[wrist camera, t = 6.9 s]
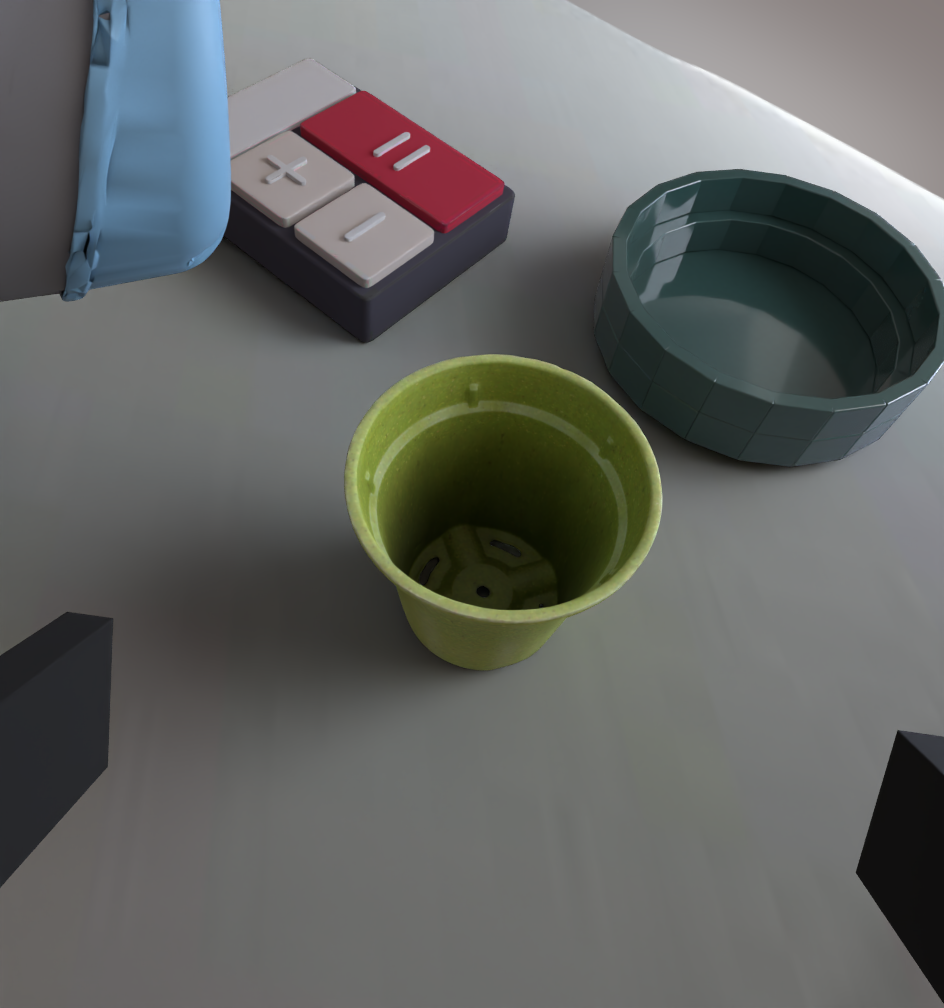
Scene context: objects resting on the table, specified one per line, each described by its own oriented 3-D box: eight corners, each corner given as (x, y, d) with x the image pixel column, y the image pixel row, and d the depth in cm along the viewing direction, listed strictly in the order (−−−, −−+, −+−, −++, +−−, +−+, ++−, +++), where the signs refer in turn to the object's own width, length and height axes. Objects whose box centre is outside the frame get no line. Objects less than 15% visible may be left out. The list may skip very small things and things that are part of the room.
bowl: (528, 342, 37) (543, 270, 33) (696, 205, 44) (725, 131, 40) (805, 535, 32) (859, 476, 28) (945, 348, 39) (1004, 281, 35)
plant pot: (313, 653, 28) (281, 539, 20) (420, 463, 33) (426, 315, 25) (551, 759, 26) (608, 678, 19) (626, 545, 31) (696, 414, 24)
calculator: (366, 289, 33) (140, 121, 36) (366, 355, 36) (161, 196, 40) (522, 179, 38) (309, 41, 41) (508, 247, 41) (314, 115, 45)
